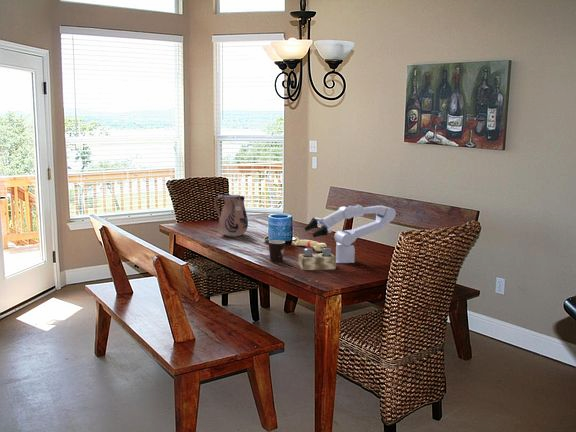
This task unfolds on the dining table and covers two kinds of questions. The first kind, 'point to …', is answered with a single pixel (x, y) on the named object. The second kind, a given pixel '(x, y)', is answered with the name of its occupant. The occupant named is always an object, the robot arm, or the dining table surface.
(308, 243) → the cat figure
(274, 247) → the coffee mug
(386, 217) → the robot arm
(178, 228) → the dining table surface
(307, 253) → the peg
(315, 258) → the block
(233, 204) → the ceramic pitcher
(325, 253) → the peg
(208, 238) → the dining table surface
